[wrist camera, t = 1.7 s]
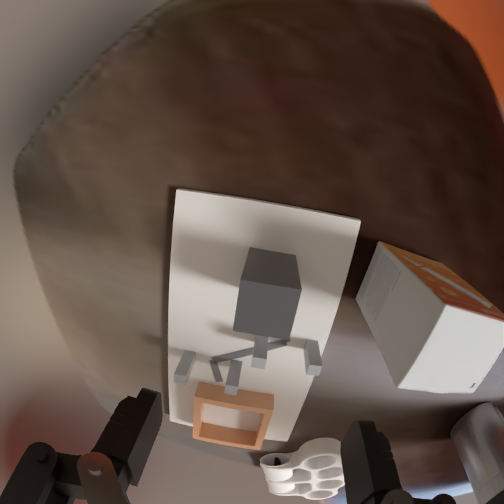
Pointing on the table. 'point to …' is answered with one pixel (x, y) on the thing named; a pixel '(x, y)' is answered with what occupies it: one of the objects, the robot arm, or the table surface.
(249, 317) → the dark grey block
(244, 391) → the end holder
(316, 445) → the white brass knuckles
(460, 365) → the small box
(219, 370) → the board
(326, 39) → the table surface
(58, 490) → the robot arm
